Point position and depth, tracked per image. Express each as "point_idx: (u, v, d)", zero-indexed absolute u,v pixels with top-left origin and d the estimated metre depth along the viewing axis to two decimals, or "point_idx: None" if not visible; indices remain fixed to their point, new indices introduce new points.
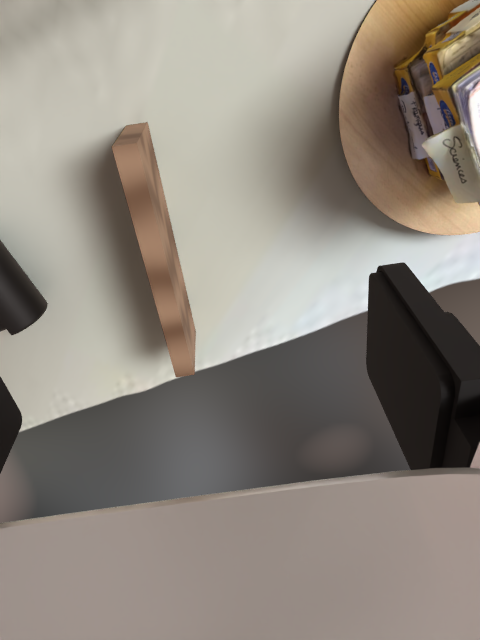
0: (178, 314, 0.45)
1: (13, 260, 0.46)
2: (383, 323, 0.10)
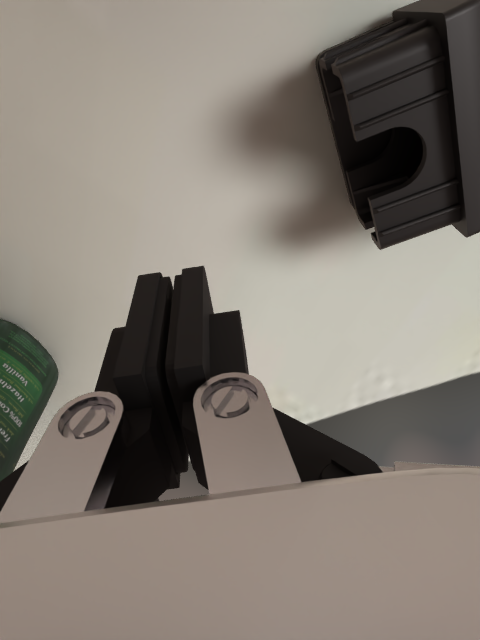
0: None
1: None
2: None
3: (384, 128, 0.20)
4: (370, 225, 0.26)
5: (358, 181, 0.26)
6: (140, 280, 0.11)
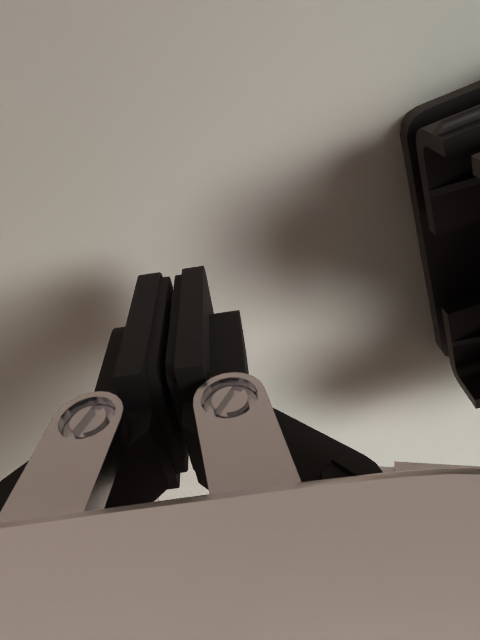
0: None
1: None
2: None
3: None
4: None
5: (464, 326, 0.15)
6: (140, 280, 0.11)
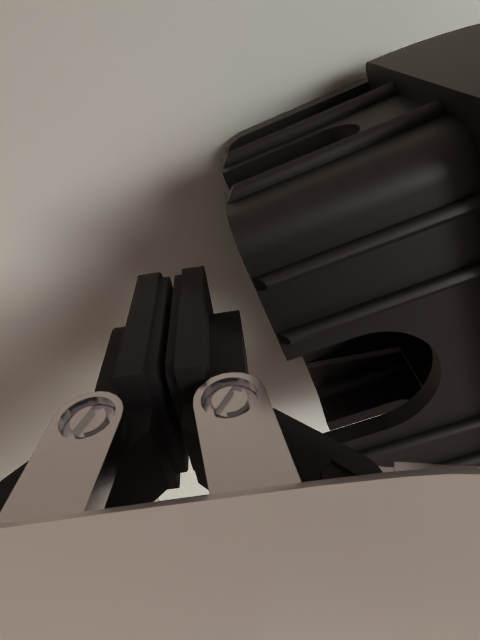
0: None
1: None
2: None
3: (346, 335, 0.09)
4: (337, 424, 0.15)
5: None
6: (140, 280, 0.11)
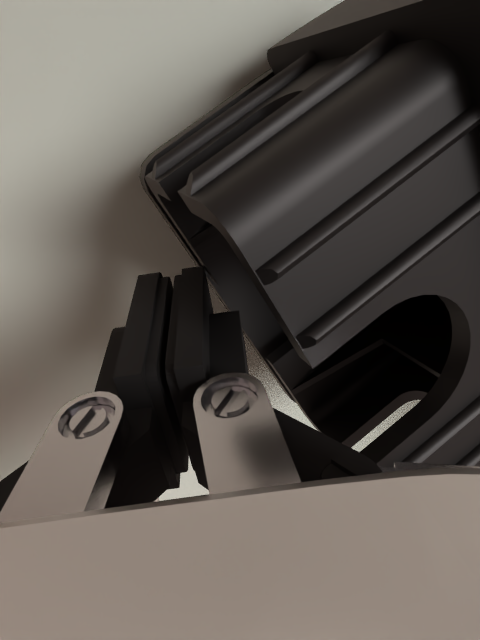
0: None
1: None
2: None
3: (371, 316, 0.07)
4: (347, 445, 0.13)
5: (296, 370, 0.13)
6: (140, 280, 0.11)
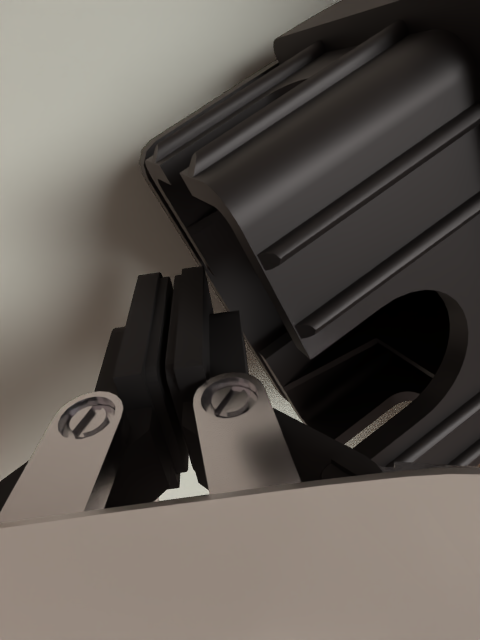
0: None
1: None
2: None
3: (371, 308, 0.07)
4: None
5: (289, 367, 0.13)
6: (140, 280, 0.11)
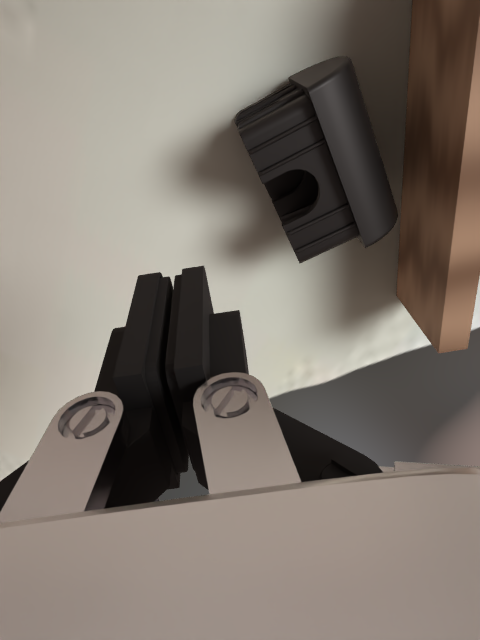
0: None
1: None
2: None
3: (282, 171, 0.26)
4: None
5: (283, 208, 0.32)
6: (140, 280, 0.11)
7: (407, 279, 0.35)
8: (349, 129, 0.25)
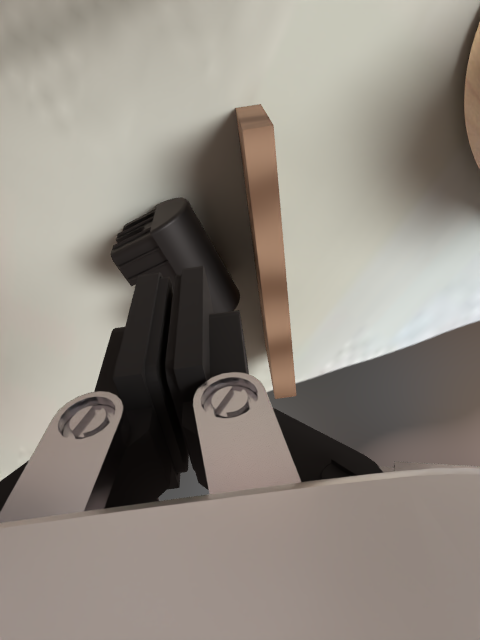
0: (289, 328, 0.38)
1: (209, 239, 0.39)
2: None
3: None
4: None
5: None
6: (140, 280, 0.11)
7: (265, 338, 0.46)
8: (185, 254, 0.36)
